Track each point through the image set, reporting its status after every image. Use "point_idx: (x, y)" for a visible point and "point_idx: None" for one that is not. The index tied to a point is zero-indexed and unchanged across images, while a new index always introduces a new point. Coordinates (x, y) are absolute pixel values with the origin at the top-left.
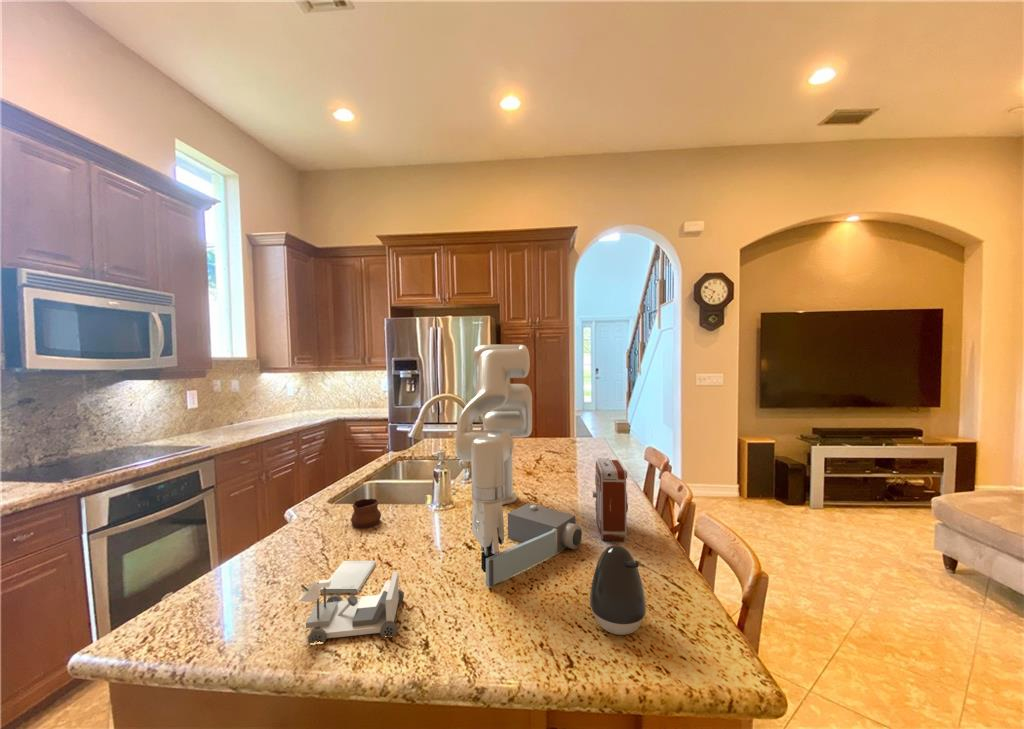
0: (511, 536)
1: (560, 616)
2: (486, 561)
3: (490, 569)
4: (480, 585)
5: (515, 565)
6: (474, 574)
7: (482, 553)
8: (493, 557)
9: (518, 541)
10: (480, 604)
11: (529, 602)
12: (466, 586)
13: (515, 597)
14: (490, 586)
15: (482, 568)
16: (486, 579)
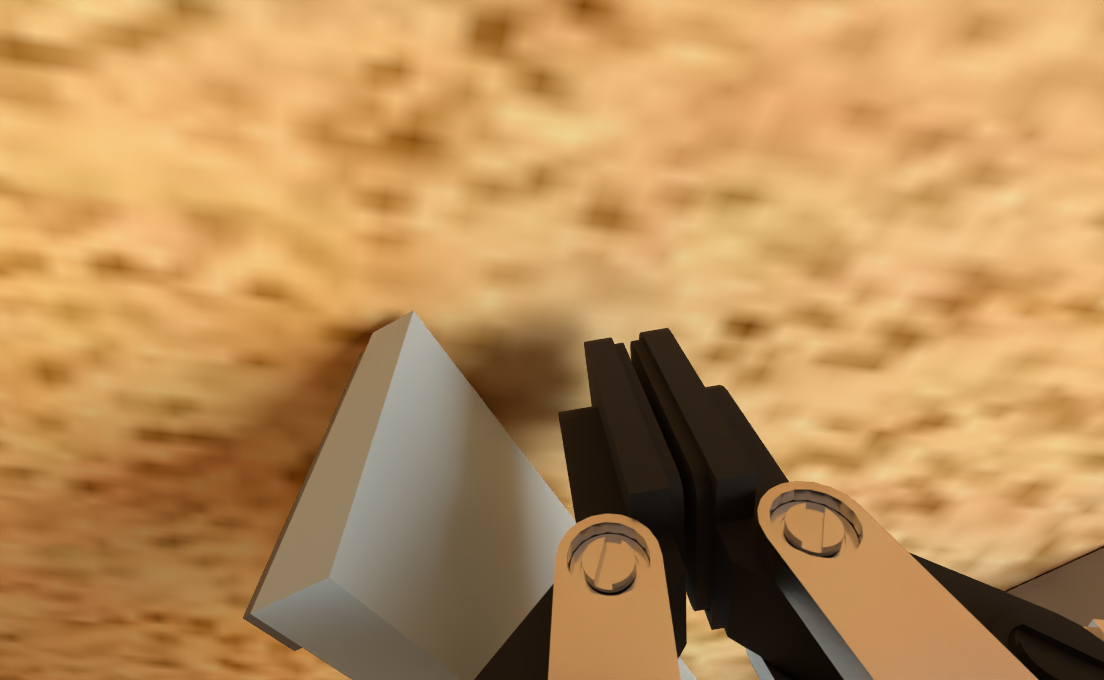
0: (1100, 579)
1: (23, 676)
2: (326, 541)
3: (298, 495)
4: (474, 251)
5: None
6: (714, 216)
7: (715, 483)
8: (362, 673)
9: (1010, 591)
10: (81, 201)
11: (172, 565)
12: (485, 82)
13: (239, 497)
14: (362, 353)
15: (645, 339)
16: (392, 351)
